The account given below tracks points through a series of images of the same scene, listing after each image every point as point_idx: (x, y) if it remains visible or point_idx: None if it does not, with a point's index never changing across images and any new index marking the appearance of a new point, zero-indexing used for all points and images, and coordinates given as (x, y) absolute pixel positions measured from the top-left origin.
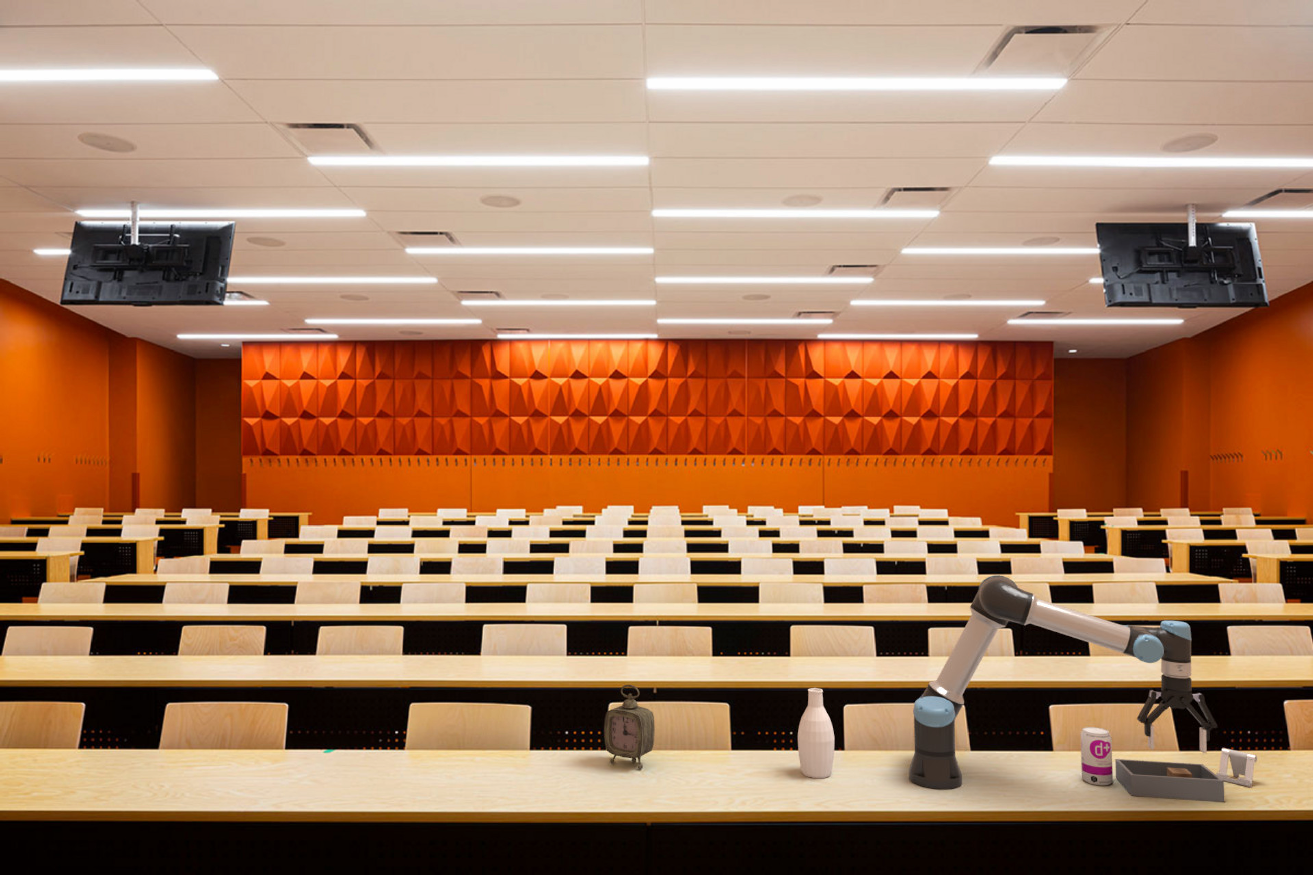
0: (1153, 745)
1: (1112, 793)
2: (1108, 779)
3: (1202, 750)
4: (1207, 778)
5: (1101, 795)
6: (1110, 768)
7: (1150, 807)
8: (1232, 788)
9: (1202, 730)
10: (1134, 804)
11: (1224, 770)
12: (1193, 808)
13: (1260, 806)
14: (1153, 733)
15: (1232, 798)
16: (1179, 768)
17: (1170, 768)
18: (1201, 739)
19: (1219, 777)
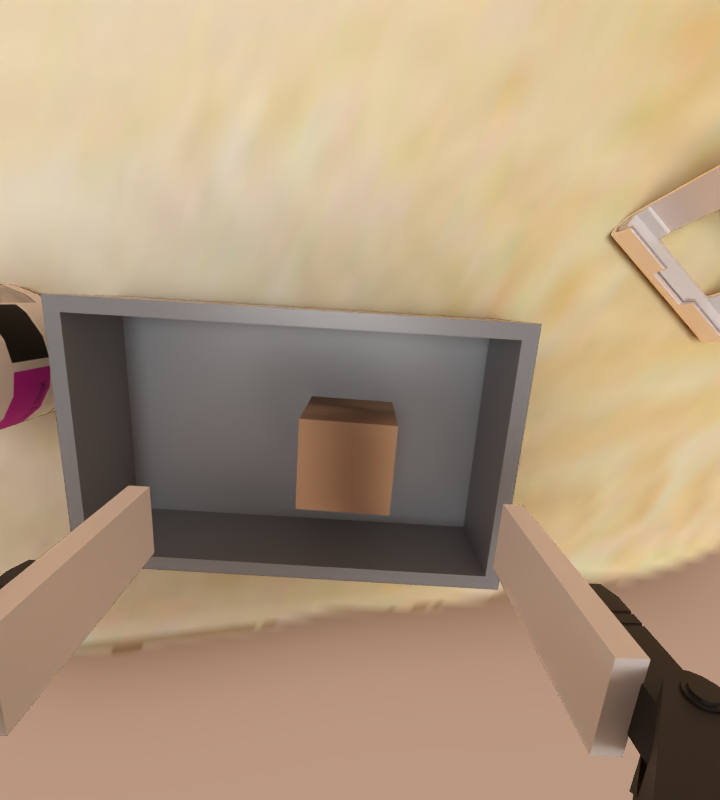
0: (135, 569)
1: (64, 495)
2: (42, 414)
3: (499, 558)
4: (492, 420)
5: (18, 522)
6: (11, 417)
7: (171, 615)
8: (603, 362)
9: (585, 720)
10: (122, 595)
11: (688, 212)
12: (320, 606)
13: (583, 558)
14: (68, 651)
15: (526, 488)
16: (363, 426)
17: (312, 433)
18: (538, 600)
19: (622, 246)
